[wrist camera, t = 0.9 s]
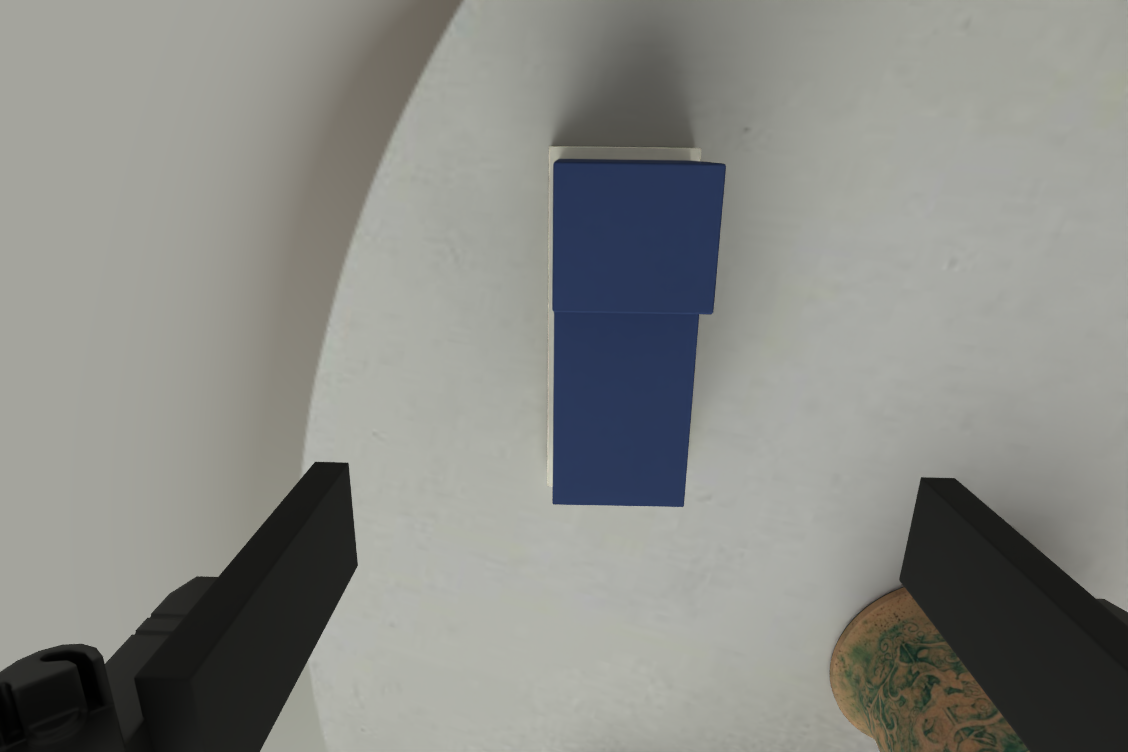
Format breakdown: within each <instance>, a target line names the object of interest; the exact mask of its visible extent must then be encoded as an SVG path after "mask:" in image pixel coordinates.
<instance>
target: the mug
mask: <svg viewBox="0 0 1128 752" xmlns="http://www.w3.org/2000/svg"><path fill="white" fill-rule="evenodd" d="M830 682H831V688H832V691H833V694H834V697H835V699H836V701H837V704H838V706H839V708H840V710H841V711H842V713H843V714H844V715H845V717H846V718H847V719H848V720H849V721H850V722H851V723H852V724H853V725H854V726H855V727H856V728H857V729H859V730H860V731H861V732H863V733H865V734H866V735H868V736H870V737H872V738H874V739H875V741H876V743H877V746H878V748H879V750H880V752H1030V751H1029V750H1028V749H1027V747H1026V746H1025V745H1024V743H1023V742H1022V741H1021V739H1020V738H1019V737H1018V735H1017V734H1016V733H1015V731H1014V730H1013V729H1012V727H1011V726H1010V725H1009V724H1008V722H1007V721H1006V720H1005V718H1004V717H1003V716H1002V714H1001V713H1000V712H999V710H998V709H997V708H996V706H995V705H994V704H993V703H992V701H991V700H990V699H989V697H988V696H987V695H986V693H985V692H984V691H983V689H982V688H981V687H980V685H979V684H978V683H977V682H976V680H975V679H974V678H973V676H972V675H971V674H970V672H969V671H968V670H967V668H966V667H965V666H964V664H963V663H962V662H961V660H960V659H959V658H958V657H957V655H956V654H955V653H954V651H953V650H952V649H951V647H950V646H949V645H948V643H947V642H946V641H945V639H944V638H943V637H942V636H941V634H940V633H939V632H938V630H937V629H936V628H935V626H934V625H933V624H932V622H931V621H930V620H929V618H928V617H927V616H926V614H925V613H924V612H923V611H922V609H921V608H920V607H919V605H918V604H917V603H916V601H915V600H914V599H913V597H912V596H911V595H910V593H909V592H908V591H907V590H906V588H905V587H903V588H901V589H898V590H896V591H893V592H891V593H889V594H887V595H885V596H883V597H882V598H880V599H878V600H877V601H875V602H873V603H872V604H871V605H869V606H868V607H867V608H865V609H864V610H863V611H862V612H861V613H859V614H858V615H857V616H856V617H855V618H854V619H853V621H852V622H851V623H850V624H849V625H848V626H847V628H846V629H845V630H844V632H843V634H842V635H841V637H840V638H839V640H838V642H837V644H836V647H835V649H834V652H833V655H832V659H831V665H830Z"/></svg>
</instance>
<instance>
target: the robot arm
mask: <svg viewBox="0 0 1128 752" xmlns="http://www.w3.org/2000/svg"><path fill="white" fill-rule="evenodd" d="M357 566H358V563H357V552H356V541H355V530H354V519H353V508H352V497H351V486H350V475H349V464H348V463H337V462H315V463H314V464H313V465H312V466H311V468H310V469H309V470H308V471H307V472H306V473H305V475H304V476H303V477H302V478H301V479H300V481H299V482H298V483H297V484H296V485H295V487H294V488H293V489H292V490H291V491H290V493H289V494H288V495H287V496H286V497H285V498H284V500H283V501H282V502H281V503H280V504H279V506H278V507H277V508H276V509H275V510H274V511H273V513H272V514H271V515H270V516H269V517H268V519H267V520H266V521H265V522H264V523H263V525H262V526H261V527H260V528H259V529H258V530H257V532H256V533H255V534H254V535H253V536H252V538H251V539H250V540H249V541H248V542H247V544H246V545H245V546H244V547H243V548H242V550H241V551H240V552H239V553H238V554H237V555H236V557H235V558H234V559H233V560H232V561H231V563H230V564H229V565H228V566H227V567H226V569H225V570H224V571H223V572H222V573H221V575H220V576H219V577H195V578H194V579H192V580H190V581H189V582H187V583H186V584H184V585H183V586H181V587H179V588H178V589H176V590H175V591H173V592H171V593H170V594H169V595H168V596H167V597H166V598H165V599H164V600H163V602H162V603H161V604H160V605H159V606H158V607H157V608H156V609H155V610H154V611H153V612H152V614H151V617H150V618H147V619H146V620H145V621H144V622H143V623H142V625H140V627H139V628H138V629H137V630H136V633H135V635H131V636H130V637H129V639H128V640H127V641H126V642H125V643H124V644H123V645H122V646H121V647H120V648H119V649H118V650H117V651H116V653H115V654H114V655H113V656H112V657H111V658H110V659H109V660H108V661H107V662H106V664H104V660H103V656H102V655H101V654H100V652H99V651H98V650H97V648H95V647H91V646H88V645H84V644H69V645H60V646H56V647H53V648H49V649H45V650H41V651H38V652H36V653H34V654H32V655H29V656H27V657H25V658H22V659H20V660H18V661H16V662H15V663H13V664H12V665H10V666H9V667H7V668H6V669H4V670H3V671H1V672H0V752H260V750H261V748H262V746H263V744H264V742H265V740H266V739H267V737H268V735H269V733H270V731H271V729H272V727H273V725H274V724H275V722H276V720H277V718H278V716H279V714H280V712H281V710H282V708H283V706H284V705H285V703H286V701H287V699H288V697H289V695H290V693H291V691H292V689H293V687H294V686H295V684H296V682H297V680H298V678H299V676H300V674H301V672H302V670H303V668H304V667H305V665H306V663H307V661H308V659H309V657H310V655H311V653H312V651H313V649H314V648H315V646H316V644H317V642H318V640H319V638H320V636H321V634H322V632H323V630H324V629H325V627H326V625H327V623H328V621H329V619H330V617H331V615H332V613H333V611H334V610H335V608H336V606H337V604H338V602H339V600H340V598H341V596H342V594H343V593H344V591H345V589H346V587H347V585H348V583H349V581H350V579H351V577H352V575H353V574H354V572H355V570H356V568H357ZM899 580H900V582H901V583H902V584H903V586H904V587H905V588H906V590H907V591H908V592H909V593H910V595H911V596H912V597H913V599H914V600H915V601H916V603H917V604H918V605H919V607H920V608H921V609H922V611H923V612H924V613H925V614H926V616H927V617H928V618H929V620H930V621H931V622H932V624H933V625H934V626H935V628H936V629H937V630H938V632H939V633H940V634H941V636H942V637H943V638H944V639H945V641H946V642H947V643H948V645H949V646H950V647H951V649H952V650H953V651H954V653H955V654H956V655H957V657H958V658H959V659H960V660H961V662H962V663H963V664H964V666H965V667H966V668H967V670H968V671H969V672H970V674H971V675H972V676H973V678H974V679H975V680H976V682H977V683H978V684H979V685H980V687H981V688H982V689H983V691H984V692H985V693H986V695H987V696H988V697H989V699H990V700H991V701H992V703H993V704H994V705H995V706H996V708H997V709H998V710H999V712H1000V713H1001V714H1002V716H1003V717H1004V718H1005V720H1006V721H1007V722H1008V724H1009V725H1010V726H1011V727H1012V729H1013V730H1014V731H1015V733H1016V734H1017V735H1018V737H1019V738H1020V739H1021V741H1022V742H1023V743H1024V745H1025V746H1026V747H1027V749H1028V750H1029V751H1030V752H1128V612H1126V611H1124V610H1123V609H1121V608H1119V607H1117V606H1115V605H1114V604H1112V603H1110V602H1108V601H1106V600H1105V599H1095V598H1094V597H1093V596H1092V595H1091V594H1090V593H1088V592H1087V591H1086V590H1085V589H1084V588H1083V587H1081V586H1080V585H1079V584H1078V583H1077V582H1076V581H1074V580H1073V579H1072V578H1071V577H1070V576H1069V575H1067V574H1066V573H1065V572H1064V571H1063V570H1062V569H1060V568H1059V567H1058V566H1057V565H1056V564H1055V563H1053V562H1052V561H1051V560H1050V559H1049V558H1047V557H1046V556H1045V555H1044V554H1043V553H1042V552H1040V551H1039V550H1038V549H1037V548H1036V547H1035V546H1033V545H1032V544H1031V543H1030V542H1029V541H1028V540H1026V539H1025V538H1024V537H1023V536H1022V535H1021V534H1019V533H1018V532H1017V531H1016V530H1015V529H1014V528H1012V527H1011V526H1010V525H1009V524H1008V523H1007V522H1005V521H1004V520H1003V519H1002V518H1001V517H999V516H998V515H997V514H996V513H995V512H994V511H992V510H991V509H990V508H989V507H988V506H987V505H985V504H984V503H983V502H982V501H981V500H980V499H978V498H977V497H976V496H975V495H974V494H973V493H971V492H970V491H969V490H968V489H967V488H966V487H964V486H963V485H962V484H961V483H960V482H959V481H957V480H956V479H955V478H924V477H921V480H920V485H919V490H918V494H917V499H916V504H915V509H914V513H913V518H912V523H911V527H910V532H909V537H908V541H907V546H906V551H905V555H904V560H903V565H902V570H901V574H900V579H899Z"/></svg>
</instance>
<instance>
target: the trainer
mask: <svg viewBox="0 0 1128 752" xmlns="http://www.w3.org/2000/svg"><path fill="white" fill-rule="evenodd" d="M725 171H726V165H725V164H722V163H711V162H701V148H663V147H589V146H549V211H548V407H547V486H553V504H563V505H615V506H668V507H683V506H684V496H685V484H686V471H687V459H688V446H689V434H690V422H691V409H692V397H693V384H694V372H695V359H696V347H697V334H698V322H699V314H712V313H713V309H714V297H715V286H716V274H717V263H718V251H719V240H720V228H721V217H722V205H723V194H724V183H725Z"/></svg>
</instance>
